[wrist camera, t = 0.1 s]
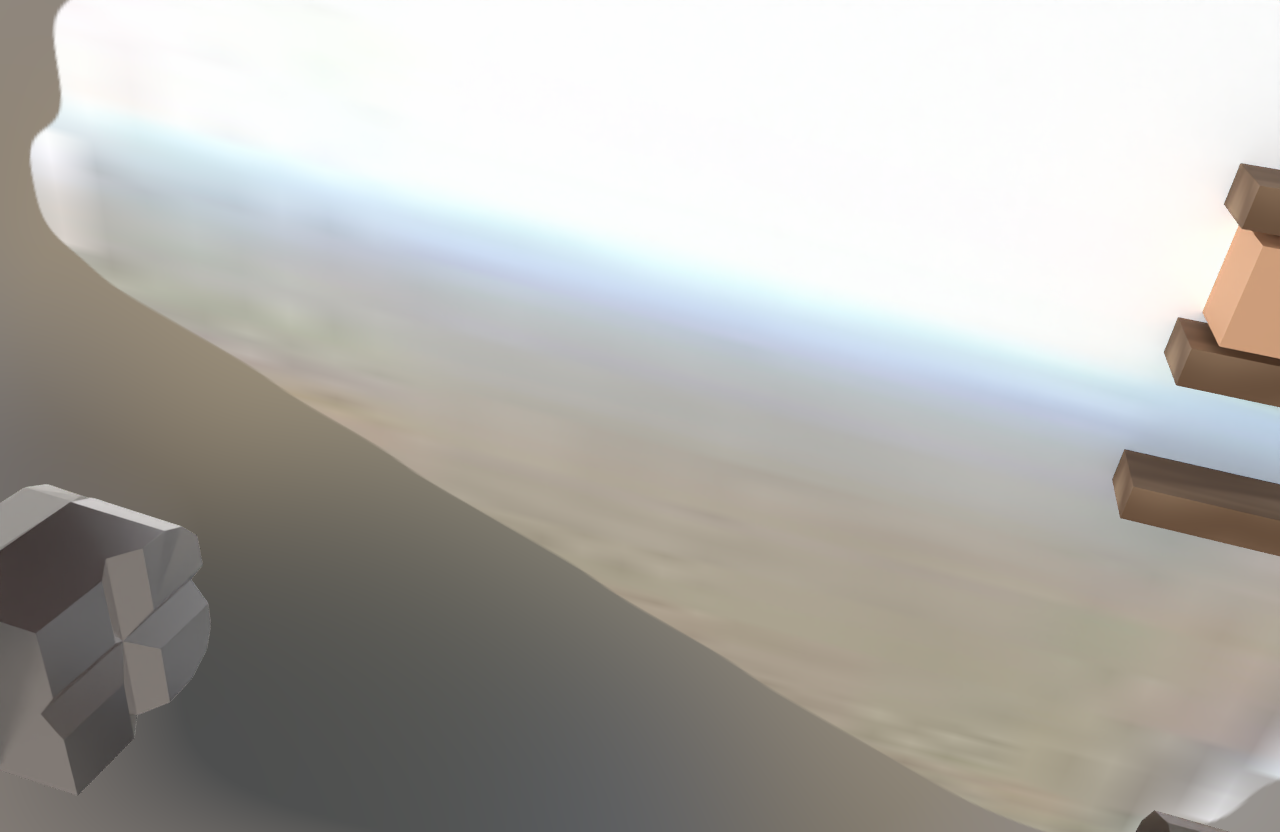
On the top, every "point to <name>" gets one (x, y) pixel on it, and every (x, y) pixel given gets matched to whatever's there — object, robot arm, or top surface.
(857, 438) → the top surface
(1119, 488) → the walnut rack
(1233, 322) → the terracotta block
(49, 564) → the robot arm
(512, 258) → the top surface
